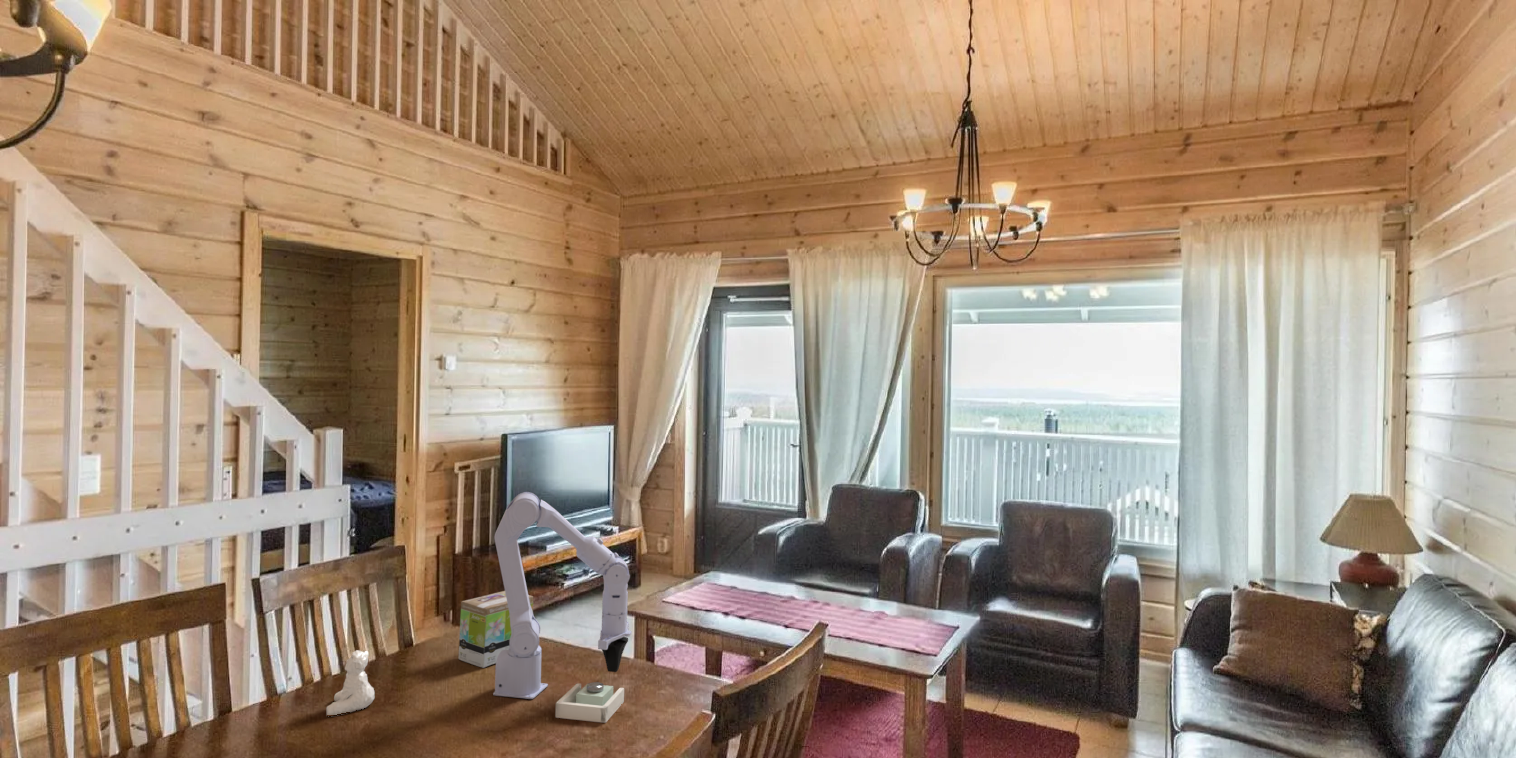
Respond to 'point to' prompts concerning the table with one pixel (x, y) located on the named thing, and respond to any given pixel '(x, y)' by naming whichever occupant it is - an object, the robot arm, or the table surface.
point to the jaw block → (594, 694)
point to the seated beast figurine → (353, 687)
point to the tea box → (485, 629)
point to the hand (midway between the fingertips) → (612, 670)
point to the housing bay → (587, 707)
